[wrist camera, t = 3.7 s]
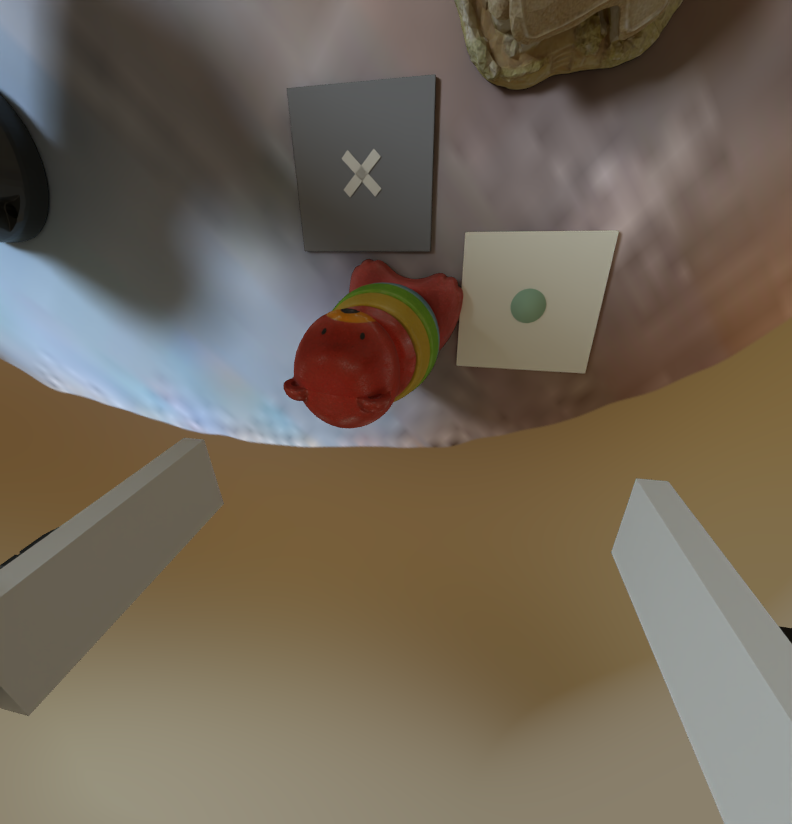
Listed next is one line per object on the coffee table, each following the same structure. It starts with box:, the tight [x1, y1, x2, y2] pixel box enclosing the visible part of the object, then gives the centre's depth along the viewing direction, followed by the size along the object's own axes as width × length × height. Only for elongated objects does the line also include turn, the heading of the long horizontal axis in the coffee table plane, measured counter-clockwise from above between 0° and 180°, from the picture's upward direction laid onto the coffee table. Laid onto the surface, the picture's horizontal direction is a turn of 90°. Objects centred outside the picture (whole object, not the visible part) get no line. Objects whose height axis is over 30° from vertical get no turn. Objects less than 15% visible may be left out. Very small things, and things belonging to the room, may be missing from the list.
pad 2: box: [456, 231, 619, 373], centre depth 32 cm, size 12×12×1 cm
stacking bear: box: [284, 259, 463, 428], centre depth 28 cm, size 11×10×18 cm
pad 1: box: [287, 74, 436, 251], centre depth 31 cm, size 12×12×1 cm
